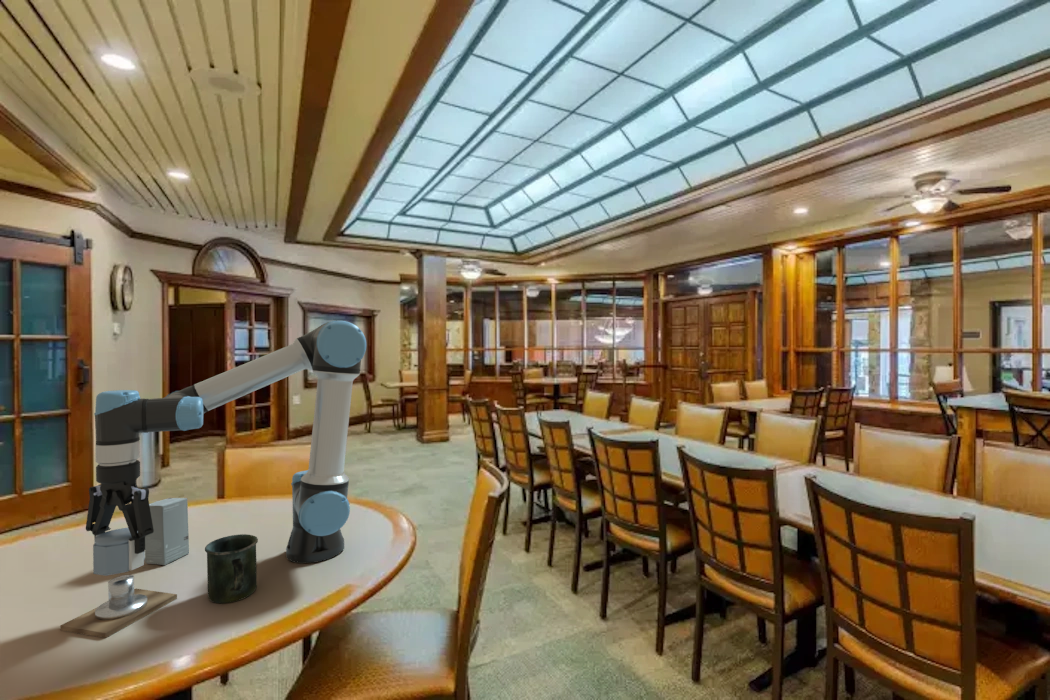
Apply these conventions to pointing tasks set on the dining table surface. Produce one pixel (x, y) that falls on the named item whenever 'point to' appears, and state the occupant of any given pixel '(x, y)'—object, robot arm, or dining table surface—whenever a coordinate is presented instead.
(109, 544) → the cap
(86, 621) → the base board
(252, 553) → the mug
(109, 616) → the stud
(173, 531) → the skincare box
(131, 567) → the robot arm
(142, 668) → the dining table surface
